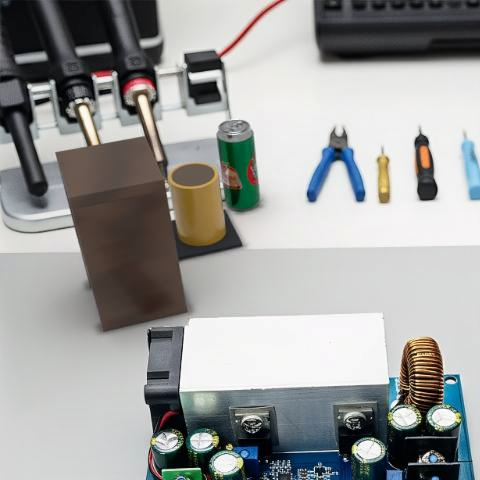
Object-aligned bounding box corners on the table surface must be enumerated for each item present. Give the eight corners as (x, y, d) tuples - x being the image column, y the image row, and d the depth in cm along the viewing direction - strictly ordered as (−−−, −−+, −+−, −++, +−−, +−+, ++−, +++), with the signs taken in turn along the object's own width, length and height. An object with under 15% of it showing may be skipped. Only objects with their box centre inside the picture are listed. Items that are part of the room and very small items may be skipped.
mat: (177, 260, 132) (176, 257, 132) (162, 225, 138) (161, 222, 138) (242, 246, 135) (242, 243, 134) (225, 212, 141) (225, 209, 140)
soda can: (218, 202, 143) (207, 125, 134) (246, 189, 145) (238, 113, 137) (239, 216, 140) (229, 139, 132) (267, 203, 142) (260, 127, 134)
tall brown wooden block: (103, 331, 121) (68, 197, 108) (88, 283, 128) (54, 152, 115) (187, 311, 124) (164, 179, 111) (169, 265, 131) (144, 135, 118)
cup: (184, 251, 133) (174, 192, 127) (172, 225, 137) (162, 167, 131) (232, 239, 135) (224, 181, 129) (218, 215, 139) (210, 157, 133)
